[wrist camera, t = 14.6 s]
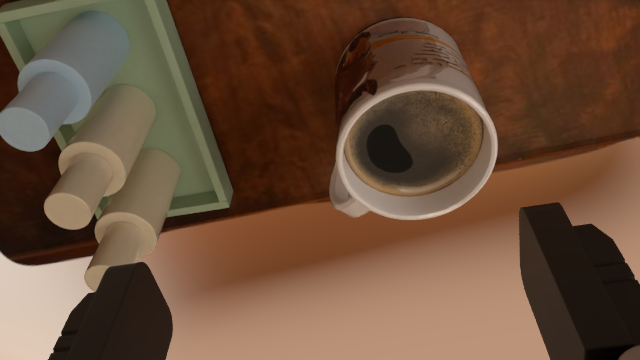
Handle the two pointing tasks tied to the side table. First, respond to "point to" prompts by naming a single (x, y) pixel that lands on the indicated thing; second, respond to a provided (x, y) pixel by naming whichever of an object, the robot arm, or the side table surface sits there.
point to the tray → (144, 73)
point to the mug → (408, 124)
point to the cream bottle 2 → (134, 214)
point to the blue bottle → (64, 80)
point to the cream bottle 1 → (100, 155)
